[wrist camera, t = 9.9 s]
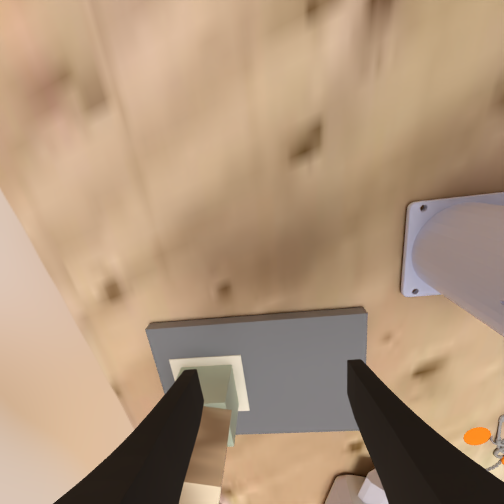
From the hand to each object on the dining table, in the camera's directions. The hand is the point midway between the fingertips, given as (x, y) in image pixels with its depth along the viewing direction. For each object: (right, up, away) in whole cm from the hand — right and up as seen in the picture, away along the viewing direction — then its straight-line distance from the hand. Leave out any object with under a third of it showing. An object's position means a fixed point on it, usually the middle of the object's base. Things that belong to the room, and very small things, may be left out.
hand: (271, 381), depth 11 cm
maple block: (-5, -9, +9) cm, 13 cm away
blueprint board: (0, -6, +13) cm, 15 cm away
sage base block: (-5, -7, +12) cm, 15 cm away
